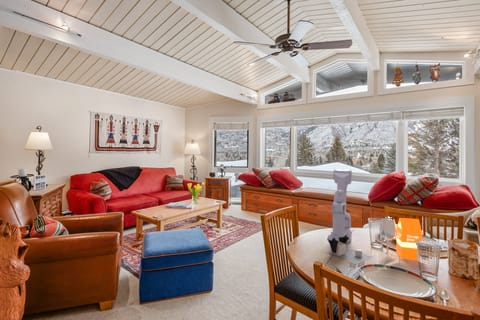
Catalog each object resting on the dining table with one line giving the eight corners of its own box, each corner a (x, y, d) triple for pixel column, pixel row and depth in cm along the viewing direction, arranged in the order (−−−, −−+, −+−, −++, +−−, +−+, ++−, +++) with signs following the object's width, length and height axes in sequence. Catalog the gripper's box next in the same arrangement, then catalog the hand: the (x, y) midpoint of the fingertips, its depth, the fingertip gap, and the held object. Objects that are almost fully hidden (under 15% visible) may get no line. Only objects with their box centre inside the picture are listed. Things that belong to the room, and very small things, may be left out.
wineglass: (393, 254, 127) (394, 217, 126) (398, 260, 119) (399, 220, 119) (377, 252, 129) (378, 215, 129) (380, 258, 122) (381, 219, 122)
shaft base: (344, 248, 134) (344, 241, 134) (373, 259, 121) (373, 250, 121) (326, 254, 125) (326, 246, 125) (354, 266, 112) (355, 258, 112)
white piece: (336, 250, 129) (336, 240, 129) (345, 253, 124) (345, 243, 124) (330, 252, 126) (330, 242, 126) (339, 255, 121) (339, 245, 121)
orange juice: (421, 260, 119) (422, 221, 119) (401, 258, 122) (402, 219, 121) (415, 254, 127) (415, 217, 126) (396, 252, 129) (396, 215, 129)
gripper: (340, 221, 132) (339, 245, 132) (323, 225, 124) (322, 251, 125) (352, 224, 126) (351, 250, 126) (334, 229, 118) (334, 256, 119)
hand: (338, 251), depth 125 cm, fingers open, 6 cm apart
